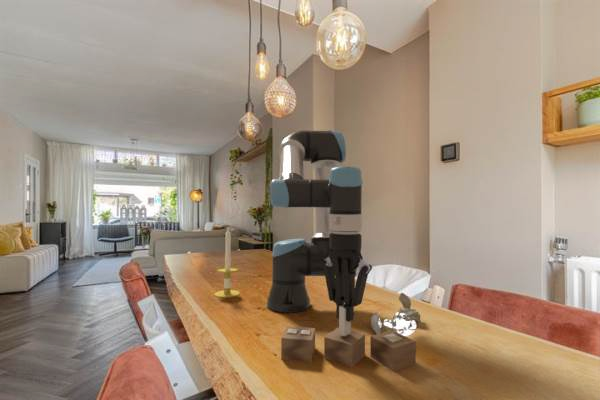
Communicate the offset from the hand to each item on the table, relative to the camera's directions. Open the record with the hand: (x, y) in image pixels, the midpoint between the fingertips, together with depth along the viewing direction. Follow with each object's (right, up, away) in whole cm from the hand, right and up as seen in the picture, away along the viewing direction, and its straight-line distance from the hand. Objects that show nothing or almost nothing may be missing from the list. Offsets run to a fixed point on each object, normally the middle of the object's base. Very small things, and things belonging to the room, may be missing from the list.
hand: (344, 333), depth 71 cm
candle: (-40, -7, +50) cm, 64 cm away
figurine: (+15, -6, +13) cm, 21 cm away
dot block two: (-11, -5, +1) cm, 12 cm away
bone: (+23, -6, +21) cm, 32 cm away
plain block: (0, -5, 0) cm, 6 cm away
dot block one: (+11, -6, -2) cm, 12 cm away
